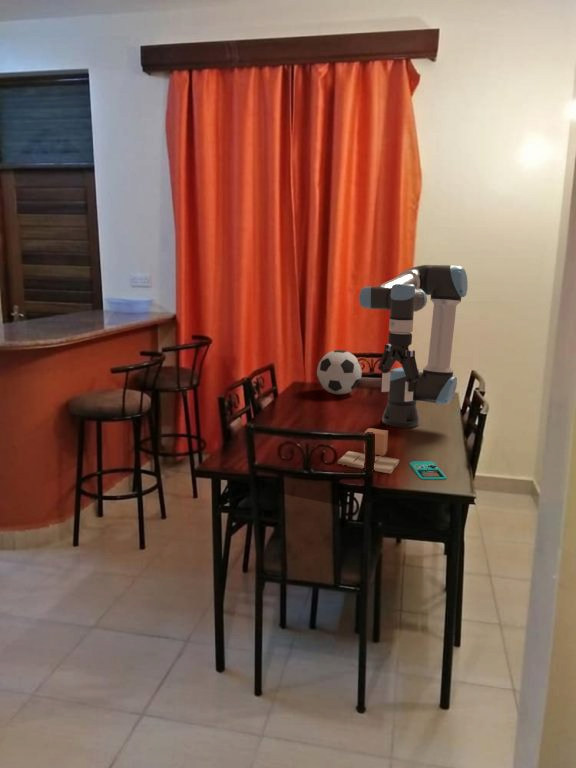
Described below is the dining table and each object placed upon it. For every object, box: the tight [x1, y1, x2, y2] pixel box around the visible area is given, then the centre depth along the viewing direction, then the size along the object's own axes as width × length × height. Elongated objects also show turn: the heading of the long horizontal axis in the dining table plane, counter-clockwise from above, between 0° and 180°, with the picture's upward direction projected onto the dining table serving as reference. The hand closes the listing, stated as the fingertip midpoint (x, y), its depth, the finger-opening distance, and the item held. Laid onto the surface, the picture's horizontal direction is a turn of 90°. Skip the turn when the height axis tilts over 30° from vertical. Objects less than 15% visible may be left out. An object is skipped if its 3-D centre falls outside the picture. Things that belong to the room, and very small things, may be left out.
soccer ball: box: [316, 349, 363, 395], centre depth 285 cm, size 22×22×22 cm
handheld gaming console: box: [409, 460, 447, 481], centre depth 187 cm, size 8×1×15 cm
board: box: [337, 450, 400, 475], centre depth 192 cm, size 11×18×1 cm, turn 65°
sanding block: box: [363, 427, 389, 457], centre depth 202 cm, size 5×7×8 cm
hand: (396, 396), depth 191 cm, fingers open, 13 cm apart
